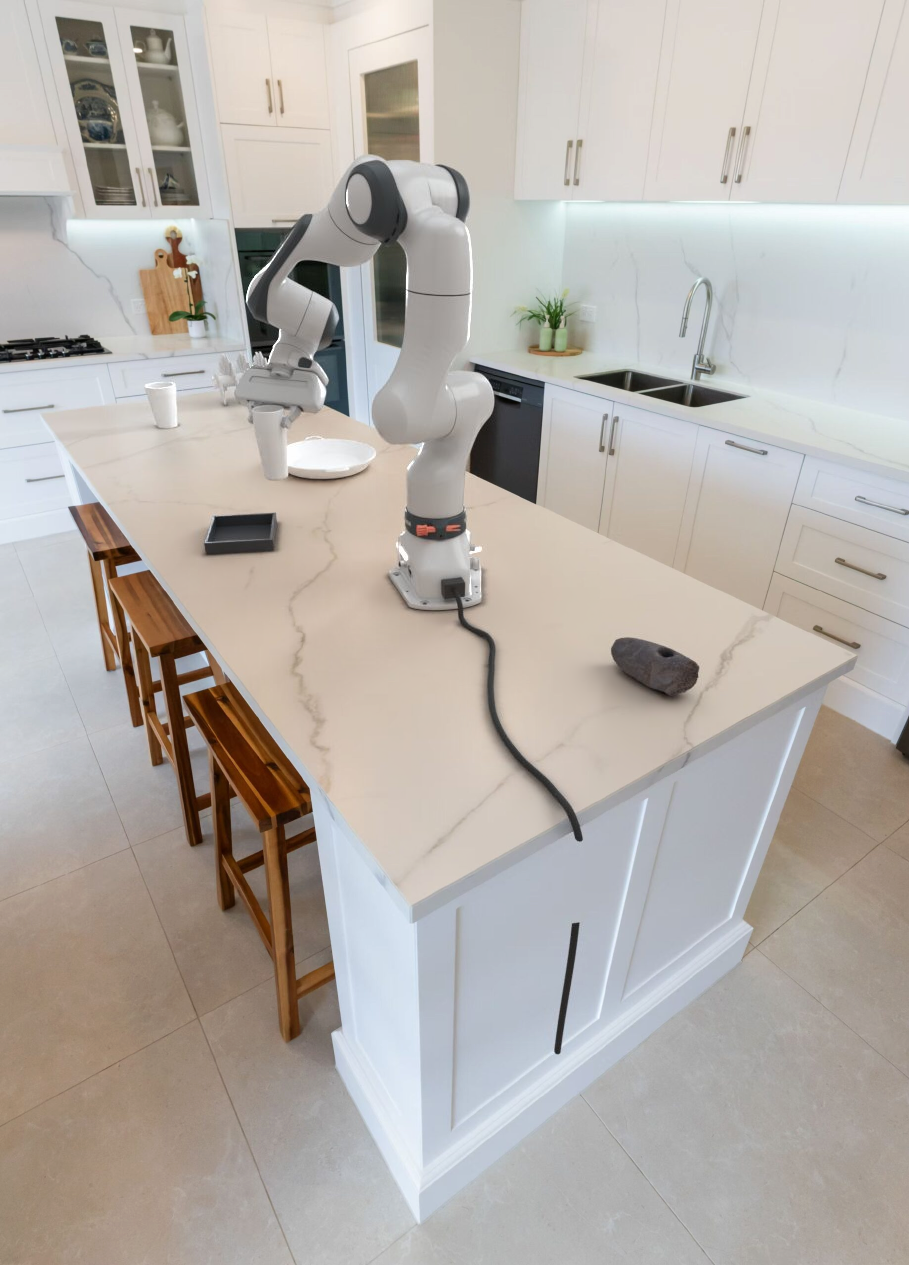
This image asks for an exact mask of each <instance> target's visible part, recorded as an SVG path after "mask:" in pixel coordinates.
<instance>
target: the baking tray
mask: <svg viewBox="0 0 909 1265" xmlns="http://www.w3.org/2000/svg"><path fill="white" fill-rule="evenodd" d="M277 530H278V518H277V512H260V513H258V512H257V513H239V514H224V515H223V514H221V515H212V517H211V520H210V524H209V526H208V530H207V533H206V536H205V539H204V543H203V544H204V549H205V555H206V556H212V555H226V554H228V555H229V554H244V553H247V554H248V553H262V552H275V547H276V538H277Z"/></svg>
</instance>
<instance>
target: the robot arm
mask: <svg viewBox="0 0 909 1265" xmlns="http://www.w3.org/2000/svg"><path fill="white" fill-rule="evenodd" d="M470 206H471V195H470V189H469V186H468V182H467V181H466V179H465V177H464V176H463V175H462V174H461V173H460V171H458V170H456V169H455V168H453V167H450V166H448V165H445V164H441V163H438V164H431V163H426V162H420V161H414V160H412V159H391V160H386V159H385V158H383V157H381V156H379V155H376V154H371V153H370V154H362V155H360V156H357V157H356V158H355V159H354V160H353V161H352V163H350V165H349V167H347V169H346V170H345V172H344V173H343V175H342V177H341V178H340V179H339V181H338V183H337V185H336V187H335V189H334V191H333V193H332V194H331V197H330V198H329V201H328V203H327V205H325V207H324V208H323V209H321V210H319V211H317V212H315V213H304V214H303V215H302V216H300V218H298V219H297V221H296V222H295V223H294V224H293V226H292V227H291V228H290V229H289V231H288V232H287V234H286V235H285V237H284V238H283V239H282V240H281V241H280V243H279V245H278V246H277V248H276V250H275V251H274V252H273V253H272V255H271V257H270V258H269V259H268V261H267V262H266V264H265V265H264V266H263V267H262V269H260V271H259V272H258V273H257V274H256V275H255V276H254V278H252V280H251V282H250V284H249V286H248V289H247V293H246V300H245V303H246V305H247V308H248V310H249V313H251V315H252V317H253V319H255V320H257V321H260V322H263V323H265V324H267V325H271V326H273V327H274V328H277V329H279V331H278V339H277V341H276V342H275V343H274V344H273V346H272V350H271V352H270V354H271V355H270V354H269V356H270V357H269V358H268V360H267V366H259V365H251V367H249V368H247V369H246V370H245V372H244V374H243V375H242V377H241V379H240V381H239V383H238V385H237V387H236V386H235V389H234V392H233V395H234V398H235V399H236V400H237V402H238V403H239V404H240V405H241V406H244V407H247V409H248V413H249V414H248V417H247V422H248V423H249V424H250V425H253V416H252V409H253V408H254V407H257V406H262V405H279V406H282V407H284V411H288V412H289V413H288V414H287V415H285V417H282V421H281V426H282V427H283V428H287V430H288V429H289V430H290V429H291V427H292V425H293V423H294V422H295V421H296V420H297V419H298V418H299V417H300V416H301V414H302V413H305V414H318V413H320V412H321V411H322V409H323V407H324V405H325V401H326V397H327V388H326V387H327V386H328V384H329V382H330V380H329V377H328V376H327V374H326V372H325V370H324V369H323V368H322V366H321V365H320V364H319V363H318V362H317V361H316V360H314V356H315V354H316V352H318V351H322V350H324V349H325V348H327V347H329V346H331V344H332V341H333V338H334V334H335V332H336V331H335V330H336V327H337V325H338V323H339V321H340V314H339V312H338V308H337V307H336V305H335V303H334V302H332V301H331V300H330V299H328V298H326V297H325V296H322V295H321V294H319V293H317V292H315V291H313V290H311V289H309V288H307V287H306V286H303V285H302V284H299V283H298V282H296V281H294V280H292V279H291V278H289V277H288V276H289V274H290V273H291V272H292V270H293V269H294V268H295V266H296V265H297V264H298V263H299V262H302V261H315V262H316V261H317V262H322V263H327V264H331V265H334V266H337V267H341V268H351V267H352V268H353V267H358V266H361V265H363V264H366V263H367V262H369V261H370V260H371V259H372V258H373V257H374V255H375V254H376V253H377V251H378V250H379V248H380V246H381V245H383V246H385V247H387V248H390V247H392V246H393V245H395V243H396V242H397V243H398V244H399V245H400V246H401V249H403V251H404V254H405V258H406V259H405V260H406V274H405V276H406V277H405V314H404V328H403V329H404V332H403V333H404V334H403V338H402V339H403V340H402V344H401V349H400V351H399V355H398V358H397V360H396V364H395V366H394V368H393V370H392V372H391V374H390V376H389V377H388V380H387V381H386V383H385V384H384V385H383V386H382V388H380V389H379V390H378V392H377V393H376V394H375V396H374V398H373V401H372V404H371V420H372V424H373V426H374V429H375V431H376V432H377V434H378V435H379V436H380V438H381V439H382V440H383V441H384V442H386V443H388V444H390V445H393V446H394V445H395V446H397V445H398V446H413V445H418V444H421V447H420V449H419V451H418V452H417V454H416V455H415V456H414V458H413V459H412V460H411V461H410V462H409V464H408V465H407V469H406V473H405V483H406V485H405V487H406V506H405V507H404V515H403V519H404V527H405V528H404V530H403V531H402V533H400V534H399V535H398V537H397V542H396V548H397V566H396V567H395V568H392V569H391V570H389V572H388V577H389V579H390V580H391V582H392V584H393V585H394V586H395V588H396V589H397V591H398V592H399V594H400V595H401V597H402V598H403V600H404V601H405V603H406V605H407V606H408V607H409V608H411V609H415V610H420V611H421V610H423V611H446V610H448V611H449V610H457V616H458V620H459V622H460V624H461V625H462V626H463V628H465V629H466V630H468V631H470V632H472V633H473V634H475V635H478V636H481V637H483V638H484V639H485V640H486V641H487V642H488V645H489V654H488V672H487V702H488V709H489V713H490V717H491V721H492V723H493V726H494V728H495V730H496V732H497V734H498V736H499V738H500V740H501V741H502V743H503V744H504V746H505V747H506V748H507V750H508V751H509V752H510V754H511V755H512V756H513V757H514V759H515V760H516V761H517V762H518V763H519V764H520V765H521V766H522V767H523V768H524V769H525V770H526V771H527V772H529V774H531V775H532V776H533V777H534V778H535V779H537V780H538V781H539V783H541V784H542V785H543V786H544V787H545V789H547V791H548V792H549V793H550V795H552V797H553V798H554V799H555V800H556V802H558V804H559V805H560V806H561V808H562V809H563V811H564V812H565V814H566V816H567V818H568V819H569V822H570V825H571V829H572V832H573V837H574V839H575V841H576V842H579V843H580V842H582V841H583V840H584V837H583V833H582V829H581V825H580V822H579V819H578V817H577V814H576V812H575V810H574V808H573V807H572V805H571V804H570V802H569V801H568V800H567V798H566V797H565V796H564V795H563V794H562V792H560V790H559V789H558V788H557V787H556V786H555V785H554V784H553V782H552V781H551V780H550V779H548V777H547V776H545V774H544V773H542V772H541V771H540V770H539V769H538V768H536V767H535V766H534V765H533V764H532V763H531V762H530V761H529V760H527V759H526V758H525V757H524V756H523V754H522V753H521V752H520V751H519V749H518V748H517V747H516V746H515V745H514V743H513V742H512V741H511V739H510V738H509V736H508V735H507V733H506V731H505V729H504V728H503V725H502V723H501V721H500V719H499V715H498V713H497V708H496V701H495V700H496V699H495V690H494V689H495V688H494V682H495V671H496V670H495V667H496V666H495V661H496V643H495V640H494V639H493V637H492V635H490V633H488V632H487V631H484V630H482V629H480V628H477V627H474V626H472V625H470V624H469V622H467V620H466V618H465V615H464V609H465V608H470V607H472V606H475V605H478V604H480V603H482V567H481V565H480V558H479V557H472V554H474V553H479V552H482V547H481V546H478V547H476V544H473V543H472V532H471V531H470V530H469V529H467V520H468V519H467V510H466V506H465V485H466V484H465V482H466V470H467V466H468V462H469V458H470V455H471V452H472V449H473V446H474V444H475V441H476V438H477V436H478V434H479V432H480V430H481V429H482V427H483V426H484V425H485V423H486V422H487V421H488V420H489V419H490V417H491V415H492V414H493V411H494V407H495V394H494V390H493V386H492V384H491V383H490V381H489V379H487V378H486V376H485V375H483V374H482V373H480V372H477V371H470V370H459V369H458V370H451V368H452V366H453V364H454V362H455V360H456V358H457V357H458V356H459V355H460V354H461V353H462V352H463V350H464V349H465V348H466V346H467V345H468V342H469V340H470V337H471V336H470V333H471V317H472V301H473V300H472V299H473V280H474V279H473V278H474V276H473V274H474V273H473V272H474V271H473V254H472V244H471V235H470V231H469V228H468V227H467V225H466V224H465V223H466V222H467V219H468V216H469V212H470V208H471V207H470ZM580 924H581V922H573V923H571V926H570V937H569V945H568V951H567V952H568V953H567V958H566V960H567V961H566V967H565V973H564V978H563V980H564V981H563V987H562V993H561V999H560V1004H559V1005H560V1006H559V1013H558V1018H557V1025H556V1032H555V1039H554V1042H555V1043H554V1049H553V1052H554V1054H555V1055H560V1054H561V1052H562V1045H563V1037H564V1031H565V1024H566V1018H567V1012H568V1007H569V1006H568V1004H569V1000H570V993H571V987H572V981H573V976H574V969H575V962H576V955H577V947H578V940H579V933H580Z"/></svg>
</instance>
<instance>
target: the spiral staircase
mask: <svg viewBox="0 0 909 1265" xmlns="http://www.w3.org/2000/svg"><path fill="white" fill-rule="evenodd" d="M254 353H255V354H254V355H253V357H252V362H251V361H248V359H247V355H246V353H242V350H241V351H239V352H238V354H237V355H236V356H235V357H236V358H235V367H234V363H233V361H230V359H229V357H228V354H227V353H226V354H224V353H221V356H220V357H219V359H218V361H219V362H218V371H219V372H218V373H217V371H216V370H215V369H213V376H211V383H212V387H213V389H214V390H216V389H219V393H220V396H221V400H222V403H223V404H224V406H227V398H226V391H228V388H230V387H235V388H236V387H237V385H238V383H239V381H240V379H241V377H242V375H243V374H244V372H245V370H246V369H247V368H249V367H252V366H253V365H259V366H267V363H268V360H267V357H264V356H263V353H262V351H255V352H254ZM270 355H271V353H270V354H269V356H268V357H269V358H270ZM251 363H252V364H251Z"/></svg>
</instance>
